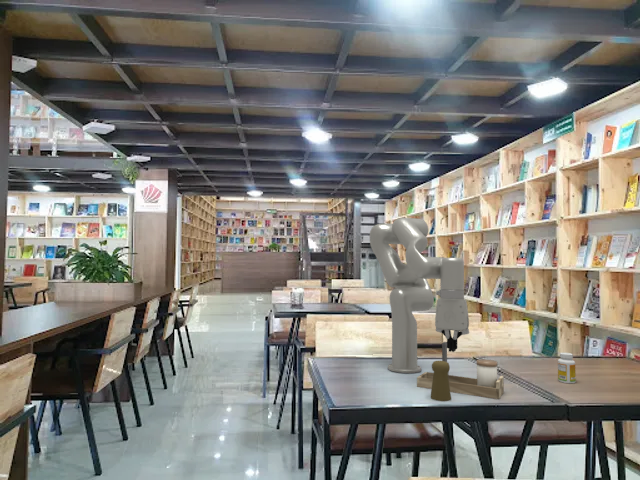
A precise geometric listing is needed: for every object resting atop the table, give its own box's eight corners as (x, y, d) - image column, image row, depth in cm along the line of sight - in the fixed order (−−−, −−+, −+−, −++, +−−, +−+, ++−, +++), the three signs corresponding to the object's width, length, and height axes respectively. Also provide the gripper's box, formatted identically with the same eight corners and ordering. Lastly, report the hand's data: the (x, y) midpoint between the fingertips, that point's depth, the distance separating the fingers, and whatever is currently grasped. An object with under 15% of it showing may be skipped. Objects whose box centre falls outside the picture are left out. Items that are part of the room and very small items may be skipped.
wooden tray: (425, 380, 154) (425, 365, 154) (503, 392, 141) (503, 376, 141) (416, 386, 146) (417, 371, 147) (499, 399, 133) (498, 382, 134)
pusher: (446, 383, 149) (446, 340, 150) (448, 383, 149) (448, 341, 150) (440, 388, 143) (440, 344, 144) (442, 388, 143) (442, 344, 144)
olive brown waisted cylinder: (427, 395, 137) (427, 359, 137) (446, 395, 137) (446, 359, 138) (434, 401, 131) (434, 363, 131) (454, 401, 131) (454, 363, 132)
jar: (478, 389, 144) (478, 358, 144) (499, 392, 140) (498, 360, 141) (474, 394, 138) (474, 361, 139) (495, 397, 135) (495, 364, 136)
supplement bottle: (573, 380, 157) (573, 352, 157) (577, 384, 152) (576, 355, 152) (556, 379, 159) (556, 351, 159) (559, 382, 154) (559, 354, 154)
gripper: (426, 294, 147) (426, 350, 146) (473, 296, 140) (473, 355, 139) (433, 293, 154) (432, 346, 153) (477, 295, 146) (478, 351, 145)
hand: (452, 350), depth 146 cm, fingers closed
